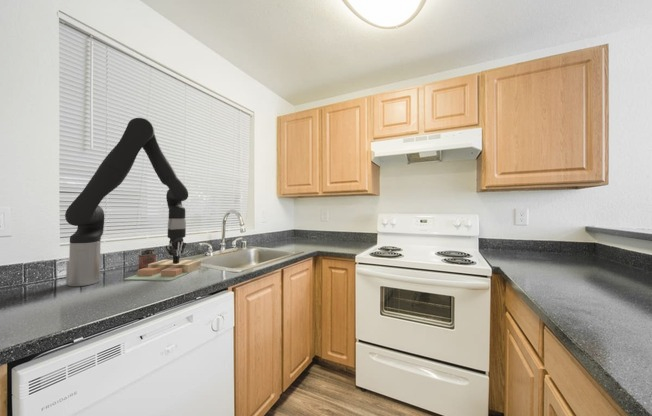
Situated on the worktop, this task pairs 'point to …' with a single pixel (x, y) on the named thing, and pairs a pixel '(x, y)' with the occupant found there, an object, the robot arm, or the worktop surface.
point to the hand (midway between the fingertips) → (176, 263)
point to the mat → (155, 277)
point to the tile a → (148, 271)
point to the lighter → (146, 258)
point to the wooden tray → (177, 265)
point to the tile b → (171, 272)
